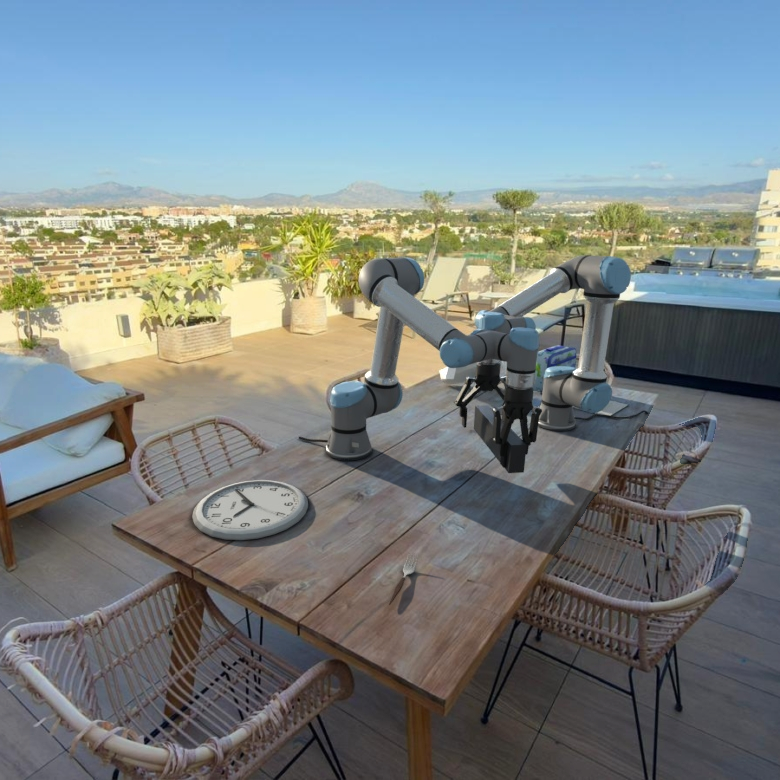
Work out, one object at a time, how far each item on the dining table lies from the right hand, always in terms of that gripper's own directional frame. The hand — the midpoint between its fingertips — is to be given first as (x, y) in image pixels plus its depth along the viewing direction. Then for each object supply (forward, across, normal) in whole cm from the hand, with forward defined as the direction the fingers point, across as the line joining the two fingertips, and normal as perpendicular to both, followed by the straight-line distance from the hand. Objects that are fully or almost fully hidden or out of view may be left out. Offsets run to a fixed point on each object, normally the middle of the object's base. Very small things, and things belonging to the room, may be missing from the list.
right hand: (484, 425), depth 171 cm
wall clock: (+11, -72, -25) cm, 77 cm away
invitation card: (+12, +68, +45) cm, 82 cm away
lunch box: (+12, +57, +70) cm, 91 cm away
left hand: (+2, 0, -26) cm, 26 cm away
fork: (+11, -37, -60) cm, 72 cm away
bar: (+3, 0, -13) cm, 13 cm away
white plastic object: (+12, +21, +70) cm, 74 cm away
